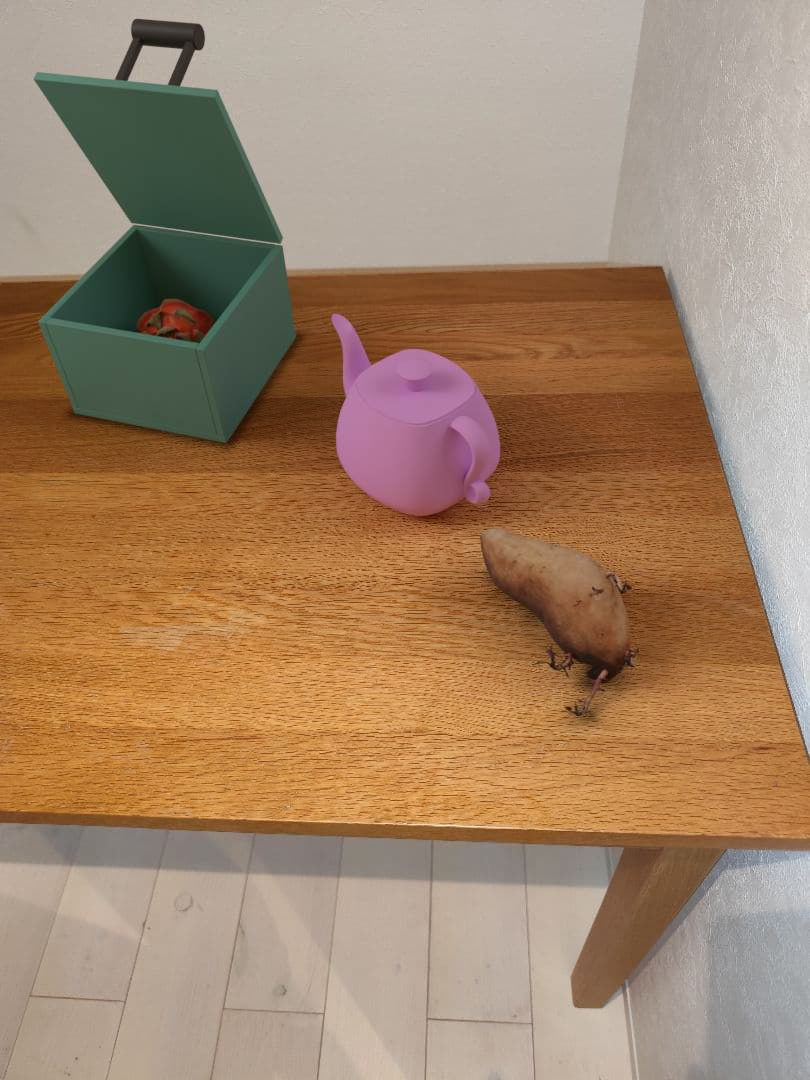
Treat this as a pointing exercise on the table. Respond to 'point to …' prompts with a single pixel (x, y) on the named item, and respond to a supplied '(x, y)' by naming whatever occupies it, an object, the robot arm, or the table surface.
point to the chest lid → (164, 143)
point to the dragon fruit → (176, 321)
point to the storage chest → (163, 363)
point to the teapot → (413, 429)
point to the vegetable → (565, 602)
